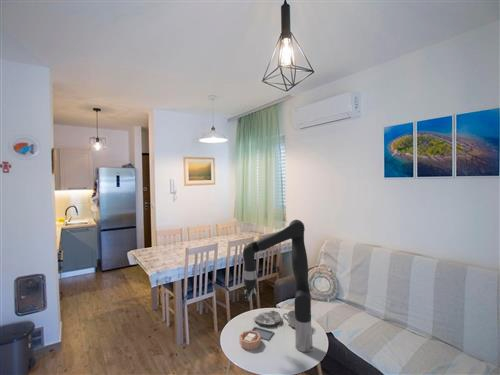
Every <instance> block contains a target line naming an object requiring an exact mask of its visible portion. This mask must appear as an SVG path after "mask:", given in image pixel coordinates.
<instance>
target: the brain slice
mask: <svg viewBox="0 0 500 375" xmlns="http://www.w3.org/2000/svg"><path fill="white" fill-rule="evenodd" d="M281 319H282V317H281V315H280V313H279V312H278V311H276V310H269V311H263V312H262V311H261V312H259V313H258V314H257V315H255V316H253V320H254V321H255V322H256V323H257V324H258V325H259V326H263V327H264V326H267V327H268V326H269V327H272V326H274V325H277V324H280V322H281Z"/></svg>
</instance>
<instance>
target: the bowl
mask: <svg viewBox="0 0 500 375" xmlns="http://www.w3.org/2000/svg"><path fill="white" fill-rule="evenodd" d="M249 333H251V334H255V335H256V340H255V341H250V342H248V341H245V340H244V338H245V337H246V336H247V335H248V334H249ZM238 337H239V339H238V340H239V345H240V348H242V349H244V350H246V351H247V350H248V351H251V350H255V349H256V350H257V349H258V348H259V346H260V345H261V344H262V342H261V340H262V339H261V337H260V335H259V333H258V332H256V331H252V329H250V330H246V331H242V332H241V334H239V336H238Z"/></svg>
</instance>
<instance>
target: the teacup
mask: <svg viewBox="0 0 500 375" xmlns="http://www.w3.org/2000/svg"><path fill="white" fill-rule="evenodd" d="M282 317H283V319H284V320H286V323H288V325H289V326H290V327H291V328H294V329H295V309H292V310H289V311H288V312H283V314H282Z"/></svg>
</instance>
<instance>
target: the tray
mask: <svg viewBox="0 0 500 375" xmlns="http://www.w3.org/2000/svg"><path fill="white" fill-rule="evenodd" d="M251 330H252V331H256V332H258V333H259V335H260V337H261V340H264V341H268V342H269V341H270V339H271V338H272V336H273V335H274V334H275V332H274V331H273V330H269V329H267V328H262V327H258V326H253V328H252V329H251Z"/></svg>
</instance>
